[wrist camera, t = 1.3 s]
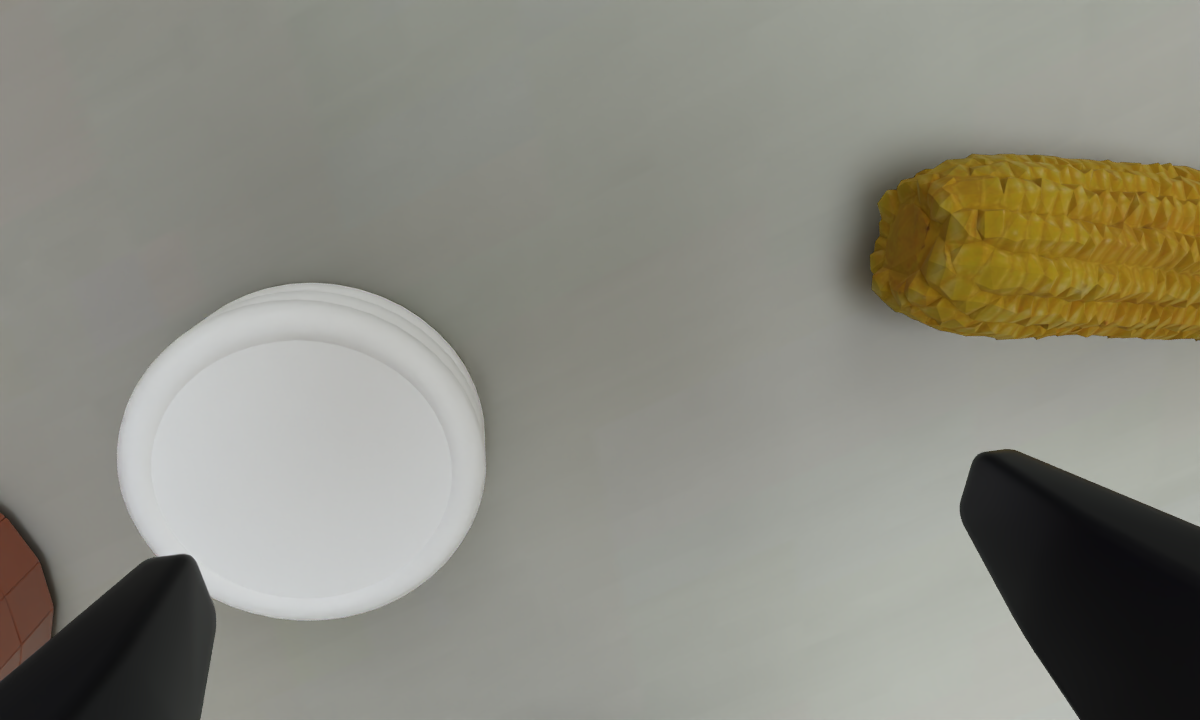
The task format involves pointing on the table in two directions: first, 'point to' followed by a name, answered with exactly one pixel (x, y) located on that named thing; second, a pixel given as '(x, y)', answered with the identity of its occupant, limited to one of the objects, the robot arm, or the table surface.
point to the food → (1043, 248)
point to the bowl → (21, 600)
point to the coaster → (305, 451)
